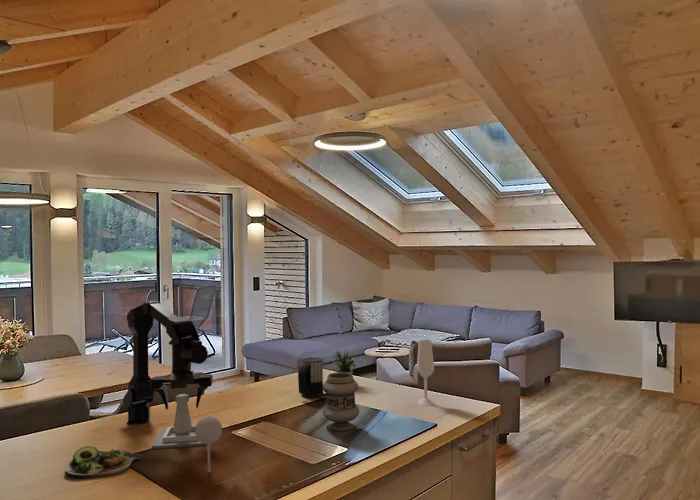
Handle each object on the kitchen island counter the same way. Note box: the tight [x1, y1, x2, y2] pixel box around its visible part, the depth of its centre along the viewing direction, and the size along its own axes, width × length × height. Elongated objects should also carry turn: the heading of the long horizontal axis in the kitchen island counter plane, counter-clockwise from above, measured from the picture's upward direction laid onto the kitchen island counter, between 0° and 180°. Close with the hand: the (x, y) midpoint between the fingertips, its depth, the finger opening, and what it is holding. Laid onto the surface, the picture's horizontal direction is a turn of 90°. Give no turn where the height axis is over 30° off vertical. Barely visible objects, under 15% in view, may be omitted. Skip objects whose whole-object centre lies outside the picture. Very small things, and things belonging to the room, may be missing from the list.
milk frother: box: [297, 356, 326, 399], centre depth 225 cm, size 14×16×15 cm
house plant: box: [329, 348, 358, 375], centre depth 244 cm, size 14×14×16 cm
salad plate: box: [64, 445, 144, 479], centre depth 158 cm, size 19×18×5 cm
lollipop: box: [195, 415, 223, 473], centre depth 152 cm, size 7×7×15 cm
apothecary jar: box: [322, 371, 360, 434], centre depth 186 cm, size 12×12×18 cm
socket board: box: [151, 424, 207, 450], centre depth 179 cm, size 16×16×2 cm
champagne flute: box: [416, 338, 435, 406], centre depth 215 cm, size 7×7×24 cm
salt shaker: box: [172, 393, 193, 436], centre depth 179 cm, size 6×6×13 cm
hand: (182, 408), depth 179 cm, fingers open, 9 cm apart
